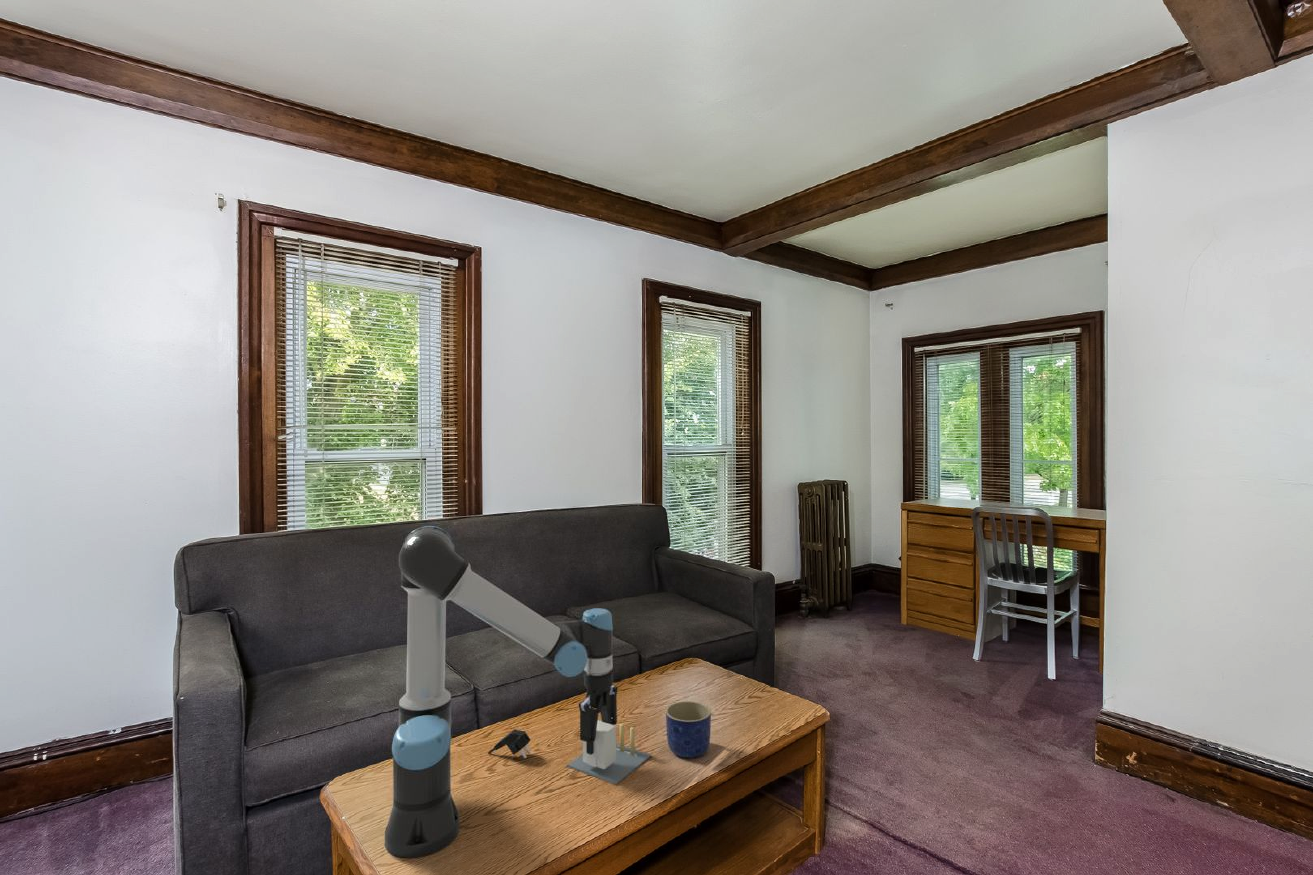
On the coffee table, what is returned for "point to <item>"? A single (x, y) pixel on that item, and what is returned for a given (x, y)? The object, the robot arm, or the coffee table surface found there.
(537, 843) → the coffee table surface
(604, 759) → the block
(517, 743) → the power plug
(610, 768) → the board
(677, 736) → the planter
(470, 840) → the coffee table surface
